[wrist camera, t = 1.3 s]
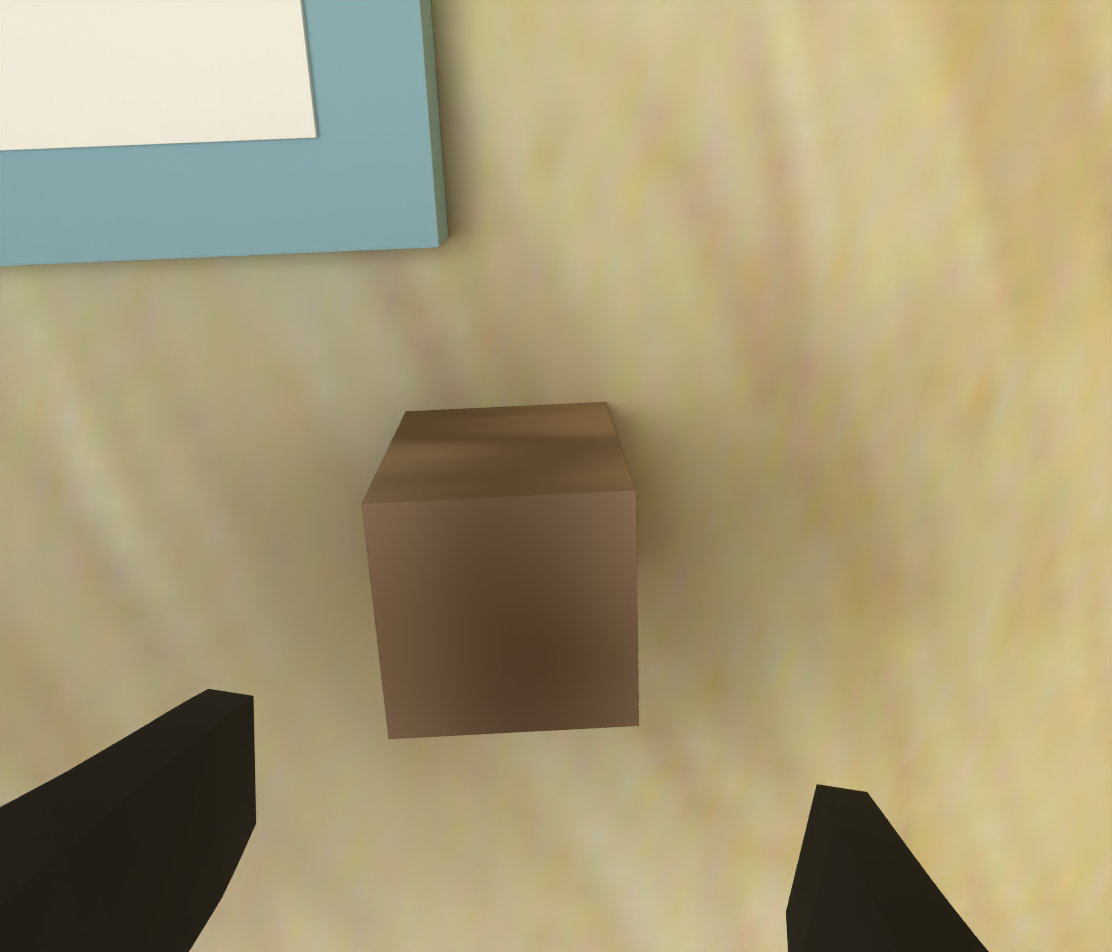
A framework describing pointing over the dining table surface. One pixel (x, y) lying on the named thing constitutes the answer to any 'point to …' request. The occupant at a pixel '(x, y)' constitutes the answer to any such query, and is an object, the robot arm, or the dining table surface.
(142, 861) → the robot arm
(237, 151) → the teal base
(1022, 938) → the dining table surface
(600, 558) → the walnut block
